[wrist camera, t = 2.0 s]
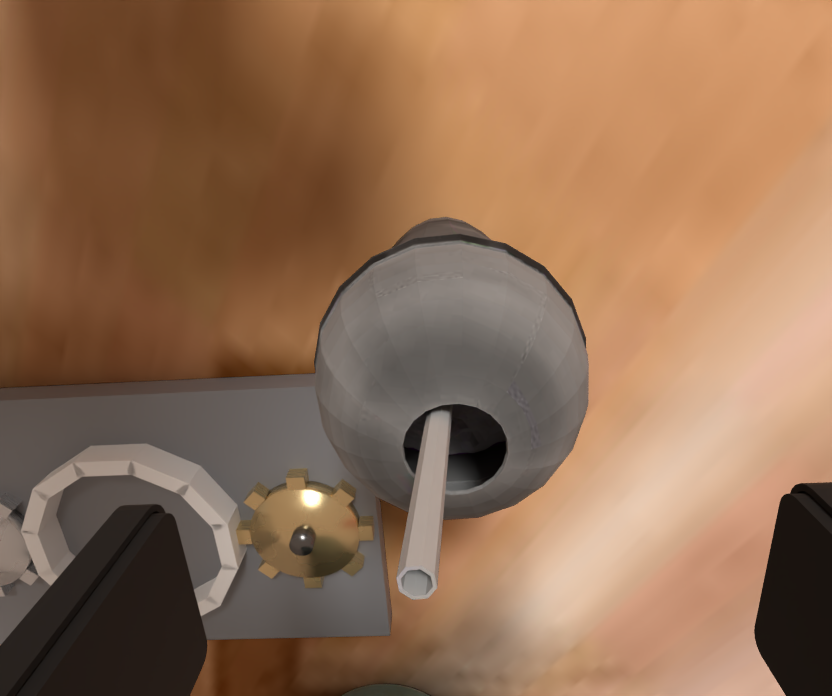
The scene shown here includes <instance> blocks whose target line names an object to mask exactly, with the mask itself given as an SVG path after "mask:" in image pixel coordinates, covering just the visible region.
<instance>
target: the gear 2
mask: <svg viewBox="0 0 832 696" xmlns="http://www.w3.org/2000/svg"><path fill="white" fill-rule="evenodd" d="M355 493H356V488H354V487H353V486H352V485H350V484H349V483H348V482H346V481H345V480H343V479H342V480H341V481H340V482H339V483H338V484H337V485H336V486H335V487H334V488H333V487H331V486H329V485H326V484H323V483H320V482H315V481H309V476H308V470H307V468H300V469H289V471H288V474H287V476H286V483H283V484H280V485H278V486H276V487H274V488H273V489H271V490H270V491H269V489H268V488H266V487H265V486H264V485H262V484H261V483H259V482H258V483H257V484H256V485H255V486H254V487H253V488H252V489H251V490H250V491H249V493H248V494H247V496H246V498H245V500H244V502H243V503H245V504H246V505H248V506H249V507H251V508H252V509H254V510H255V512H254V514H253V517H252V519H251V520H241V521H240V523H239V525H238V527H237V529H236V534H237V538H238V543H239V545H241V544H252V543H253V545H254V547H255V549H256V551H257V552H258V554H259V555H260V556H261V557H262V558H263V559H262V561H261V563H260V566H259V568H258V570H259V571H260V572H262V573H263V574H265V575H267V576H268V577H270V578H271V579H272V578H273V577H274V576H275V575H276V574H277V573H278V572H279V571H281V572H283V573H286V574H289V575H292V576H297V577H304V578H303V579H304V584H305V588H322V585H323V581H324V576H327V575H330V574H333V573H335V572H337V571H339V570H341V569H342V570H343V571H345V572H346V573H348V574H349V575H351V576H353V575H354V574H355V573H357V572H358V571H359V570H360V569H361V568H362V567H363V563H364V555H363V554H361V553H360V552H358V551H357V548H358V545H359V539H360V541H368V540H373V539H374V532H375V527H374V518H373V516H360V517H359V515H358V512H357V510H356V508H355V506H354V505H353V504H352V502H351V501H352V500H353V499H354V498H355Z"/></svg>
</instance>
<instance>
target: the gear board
mask: <svg viewBox="0 0 832 696" xmlns="http://www.w3.org/2000/svg"><path fill="white" fill-rule="evenodd" d="M300 468H307V470H308V476H309V481H315V482H320V483H323V484H326V485H329V486H331V487H333V488H334V487H335V486H336V485H337V484H338V483H339V482H340V481H341V480H342V479H343V480H345V481H346V482H348V483H349V484H350V485H352V486H353V487H354V488H356V493H355V498H354V499H353V500H352V501H351V502H352V504H353V505H354V506H355V508H356V510H357V512H358V515H359V517H360V516H373V518H374V527H375V532H374V539H373V540H368V541H360V539H359V545H358V548H357V551H358V552H360V553H361V554H363V555H364V563H363V567H362V568H361V569H360V570H359V571H358V572H357V573H355V574H354V575H353V576H351V575H349V574H348V573H346V572H345V571H343V570H342V569H341V570H339V571H337V572H335V573H333V574H330V575H327V576H324V581H323V585H322V588H305V584H304V579H303V578H304V577H297V576H292V575H289V574H286V573H283V572H281V571H279V572H278V573H277V574H276V575H275V576H274V577H273V578H272V579H271V578H270V577H268V576H267V575H265V574H263V573H262V572H260V571H259V570H258V568H259V566H260V563H261V561H262V559H263V558H262V557H261V556H260V555H259V554H258V552H257V551H256V549H255V547H254V545H253V543H252V544H241V545H239V543H238V538H237V534H236V529H237V527H238V525H239V523H240V521H241V520H251V519H252V517H253V514H254V512H255V510H254V509H252V508H251V507H249V506H248V505H246V504H245V503H243V502H244V500H245V498H246V496H247V494H248V493H249V491H250V490H251V489H252V488H253V487H254V486H255V485H256V484H257V483H258V482H259V483H261V484H262V485H264V486H265V487H266V488H268V489H269V491H270V490H271V489H273V488H274V487H276V486H278V485H280V484H283V483H286V476H287V474H288V471H289V469H300ZM6 492H9V493H11V494H12V495H14V496H16V497H17V498H19V499H20V500H22V503H21V504H20V505H19V507H18V508H17V509H16V510H18V511H19V512H20V513H21V514H22V515H23V516H24V517H25V518H24V522H23V525H22V529H21V533H22V535H23V538H24V540H25V543H26V545H27V548H28V550H29V553H30V555H31V558H32V560H33V563H34V565H35V568H36V570H37V573H38V575H39V577H38V578H37V579H36V580H35V582H34V583H33V584H32V585H29V584H27V583H25V582H24V581H22V580H20V579H19V578H18V579H17V580H16V581H14V584H15V586H14V587H13V588H12V589H11V590H10V592H9V593H8V594H7V595H6V596H2V597H0V645H1V644H2V643H3V642H4V641H5V639H6V638H7V637H8V636H9V635H10V633H11V632H12V631H13V630H14V629H15V628H16V626H17V625H18V624H19V623H20V622H21V621H22V619H23V618H24V617H25V616H26V615H27V613H28V612H29V611H30V610H31V609H32V608H33V606H34V605H35V604H36V603H37V602H38V600H39V599H40V598H41V597H42V596H43V595H44V593H45V592H46V591H47V590H48V589H49V588H50V586H51V585H52V584H53V583H54V582H55V580H56V579H57V578H58V577H59V576H60V575H61V573H62V572H63V571H64V570H65V569H66V567H67V566H68V565H69V564H70V563H71V562H72V560H73V559H74V558H75V557H76V556H77V555H78V553H79V552H80V551H81V550H82V549H83V547H84V546H85V545H86V544H87V543H88V542H89V540H90V539H91V538H92V537H93V536H94V534H95V533H96V532H97V531H98V530H99V529H100V527H101V526H102V525H103V524H104V523H105V522H106V520H107V519H108V518H109V517H110V516H111V514H112V513H113V512H114V511H115V510H116V509H117V508H118V507H120V506H123V505H143V504H158V505H161V506H162V507H163V508H164V510H165V512H166V513H170V514H172V515H173V516H174V517H175V520H176V523H177V527H178V531H179V535H180V538H181V542H182V546H183V550H184V554H185V557H186V561H187V565H188V569H189V573H190V577H191V580H192V584H193V588H194V592H195V596H196V599H197V603H198V607H199V611H200V615H201V619H202V622H203V626H204V630H205V634H206V638H207V640H221V639H264V638H308V637H351V636H390V632H391V620H392V610H391V601H390V591H389V582H388V572H387V563H386V553H385V544H384V534H383V525H382V515H381V506H380V498H378V497H376V496H375V495H374V494H373V493H372V492H371V491H370V490H369V489H367V488H366V487H365V486H364V485H363V484H362V483H361V482H360V481H359V480H358V479H356V478H355V477H354V476H353V475H352V474H351V473H350V472H349V471H348V470H347V469H346V468H345V467H344V465H343V463H342V462H341V460H340V458H339V456H338V455H337V453H336V451H335V449H334V448H333V446H332V444H331V443H330V441H329V439H328V437H327V436H326V433H325V431H324V429H323V426H322V421H321V416H320V411H319V406H318V401H317V396H316V390H315V374H293V375H272V376H250V377H229V378H207V379H186V380H164V381H143V382H121V383H100V384H78V385H57V386H35V387H14V388H0V497H1V496H2V495H3V494H4V493H6Z"/></svg>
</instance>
